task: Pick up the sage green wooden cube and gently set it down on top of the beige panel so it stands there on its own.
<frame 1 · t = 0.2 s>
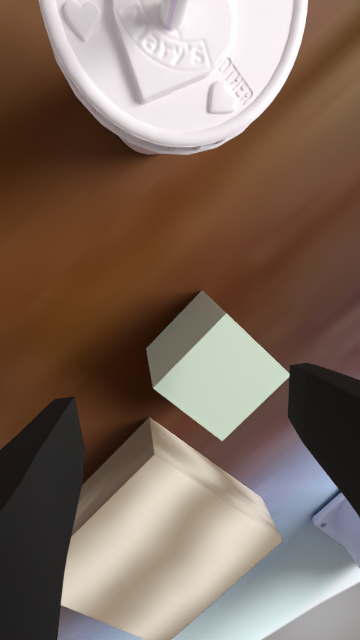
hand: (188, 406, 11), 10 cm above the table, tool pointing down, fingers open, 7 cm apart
beige panel: (153, 510, 25), on the table
smoothie: (148, 114, 17), on the table
green block: (201, 343, 21), on the table
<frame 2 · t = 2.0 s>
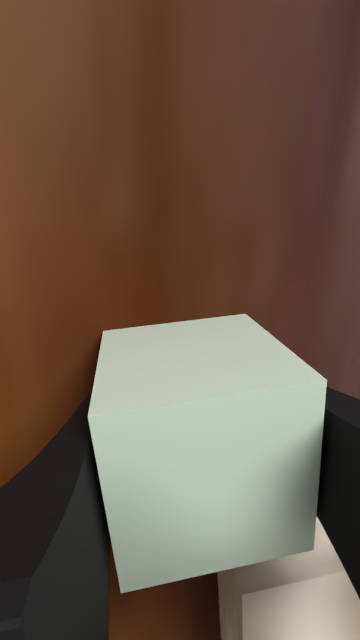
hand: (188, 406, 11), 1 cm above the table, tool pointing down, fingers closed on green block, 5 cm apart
beige panel: (327, 564, 17), on the table
green block: (181, 385, 12), on the table, touching gripper
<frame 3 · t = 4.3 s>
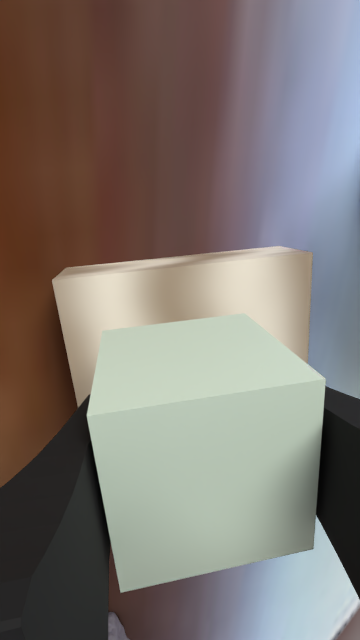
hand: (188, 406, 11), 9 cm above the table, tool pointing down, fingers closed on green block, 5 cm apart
beige panel: (184, 352, 20), on the table
green block: (180, 385, 12), point 7 cm above the table, touching gripper
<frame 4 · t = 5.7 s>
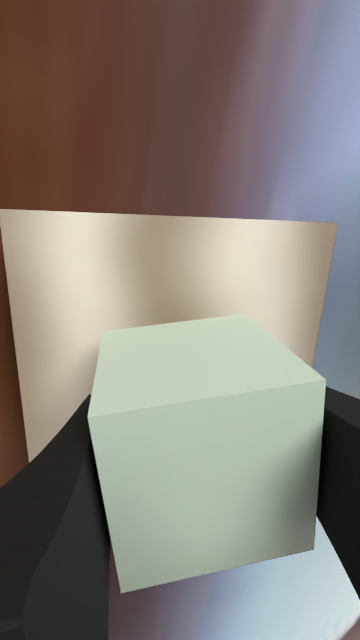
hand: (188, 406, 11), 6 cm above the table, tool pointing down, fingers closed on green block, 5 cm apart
beige panel: (164, 336, 17), on the table
green block: (181, 385, 12), point 5 cm above the table, touching gripper
when the fingers open (6 cm above the table, at t = 6.7 s): green block drops 1 cm, point 4 cm above the table.
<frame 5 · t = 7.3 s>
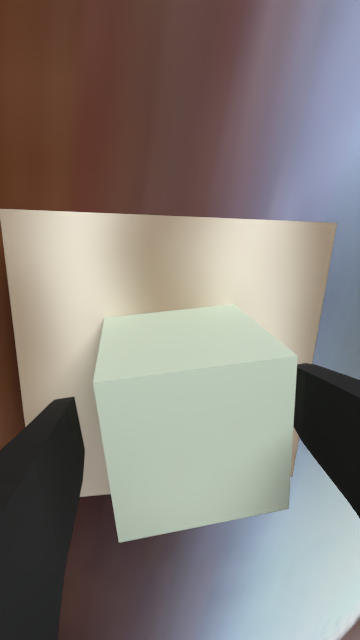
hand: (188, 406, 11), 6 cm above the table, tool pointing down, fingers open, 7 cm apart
beige panel: (164, 336, 17), on the table
green block: (174, 369, 13), point 4 cm above the table
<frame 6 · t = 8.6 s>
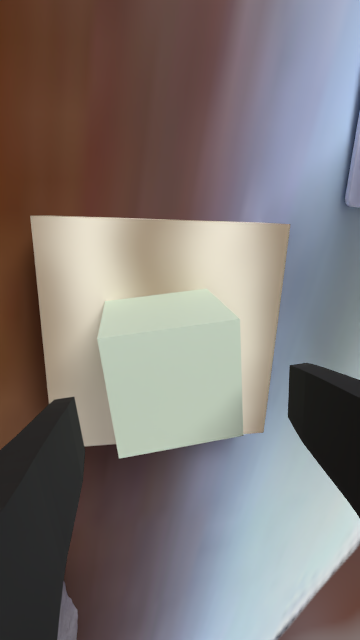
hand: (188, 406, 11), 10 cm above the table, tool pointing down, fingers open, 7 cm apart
beige panel: (158, 318, 21), on the table, touching green block
green block: (162, 341, 17), point 4 cm above the table, touching beige panel
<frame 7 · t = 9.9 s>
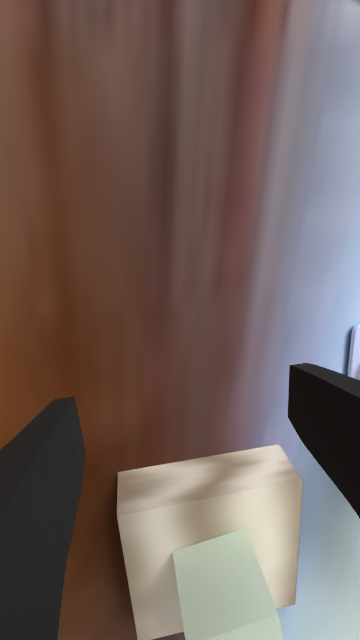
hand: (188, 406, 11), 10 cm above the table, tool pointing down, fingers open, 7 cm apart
beige panel: (203, 515, 26), on the table
green block: (215, 565, 22), point 4 cm above the table
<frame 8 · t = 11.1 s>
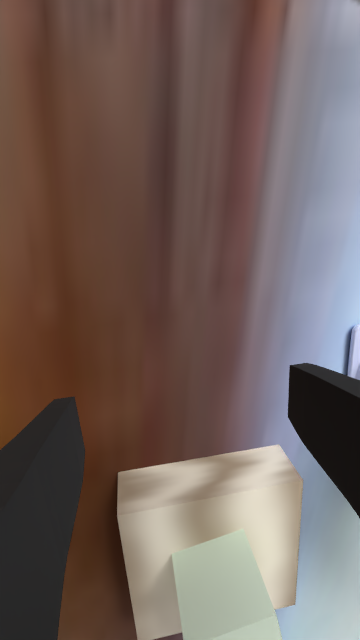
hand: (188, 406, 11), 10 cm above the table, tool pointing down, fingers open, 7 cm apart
beige panel: (203, 515, 26), on the table, touching green block
green block: (215, 566, 22), point 4 cm above the table, touching beige panel
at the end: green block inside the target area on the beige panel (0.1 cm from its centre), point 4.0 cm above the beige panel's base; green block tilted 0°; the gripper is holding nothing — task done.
